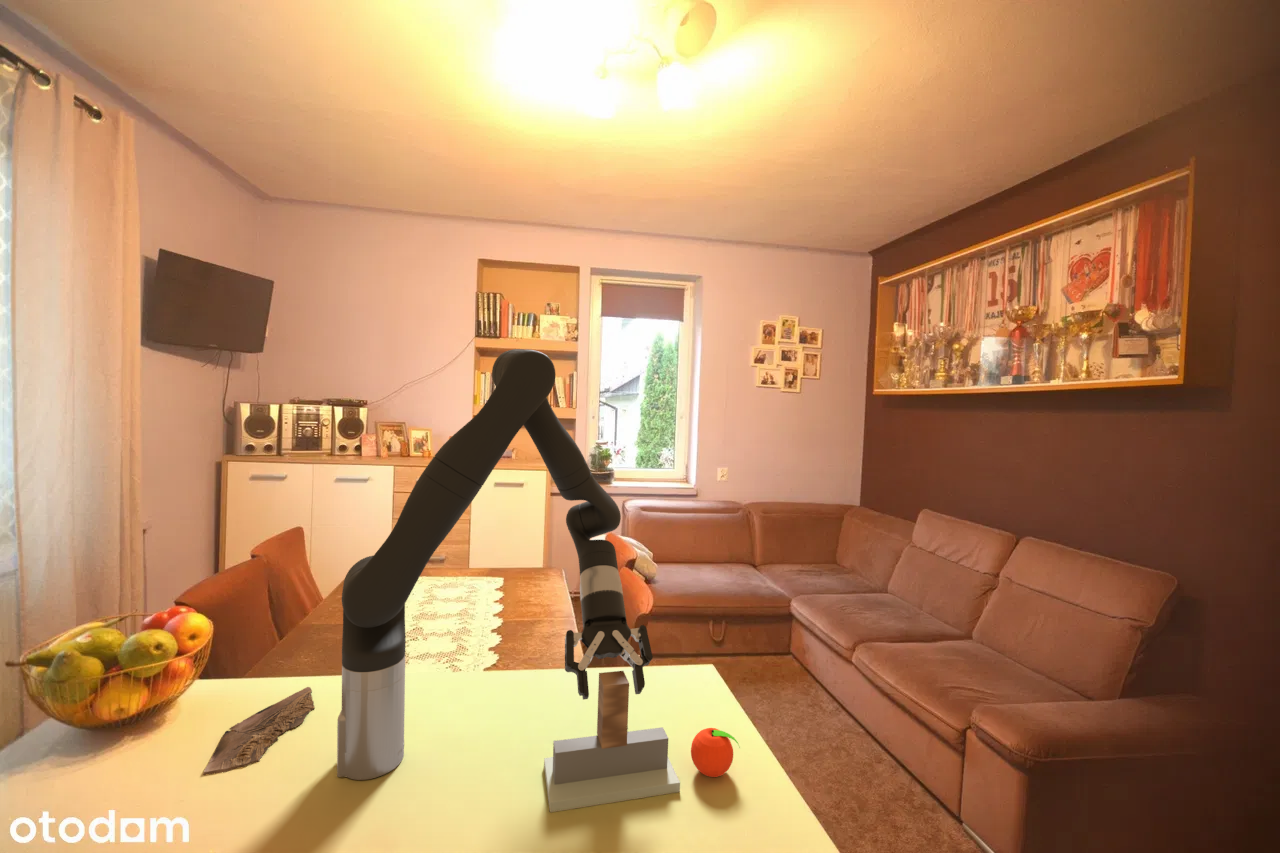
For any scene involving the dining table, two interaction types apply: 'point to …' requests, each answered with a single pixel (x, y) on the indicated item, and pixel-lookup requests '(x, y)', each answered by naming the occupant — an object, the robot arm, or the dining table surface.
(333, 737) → the dining table surface
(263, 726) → the wooden fragment
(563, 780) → the ridge stand
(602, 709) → the walnut post
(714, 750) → the clementine
